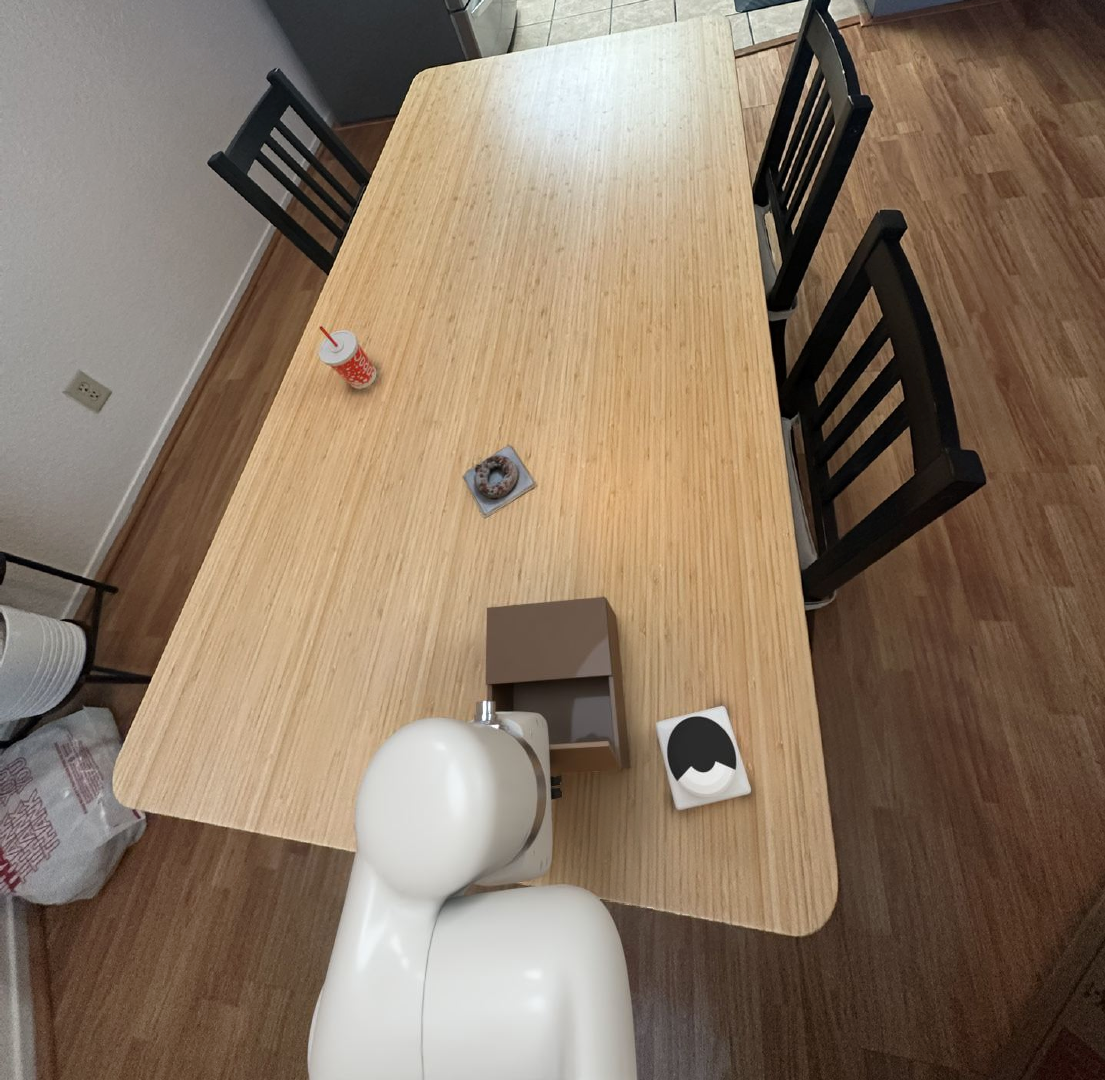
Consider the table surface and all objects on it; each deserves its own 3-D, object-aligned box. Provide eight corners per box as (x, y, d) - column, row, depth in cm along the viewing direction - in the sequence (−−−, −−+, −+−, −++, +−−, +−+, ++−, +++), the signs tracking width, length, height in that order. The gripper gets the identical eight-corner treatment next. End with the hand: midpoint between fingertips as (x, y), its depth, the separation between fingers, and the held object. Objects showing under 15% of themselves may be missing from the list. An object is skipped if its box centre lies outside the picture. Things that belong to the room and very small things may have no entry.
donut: (511, 443, 89) (507, 437, 88) (536, 486, 85) (533, 480, 83) (461, 474, 88) (456, 468, 86) (484, 519, 84) (479, 514, 82)
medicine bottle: (658, 725, 67) (650, 718, 57) (722, 710, 66) (726, 700, 57) (678, 807, 63) (674, 814, 53) (747, 791, 62) (756, 795, 53)
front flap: (619, 765, 57) (620, 770, 57) (484, 772, 59) (484, 777, 59) (608, 740, 52) (609, 746, 52) (461, 749, 54) (461, 754, 54)
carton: (630, 768, 65) (620, 768, 57) (510, 774, 67) (483, 775, 59) (616, 615, 74) (605, 595, 65) (510, 624, 75) (486, 606, 67)
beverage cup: (366, 397, 99) (323, 349, 88) (338, 386, 101) (292, 338, 90) (388, 367, 101) (348, 316, 90) (359, 356, 104) (318, 306, 93)
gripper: (438, 669, 45) (503, 693, 59) (422, 957, 36) (503, 901, 51) (540, 661, 44) (580, 687, 58) (548, 955, 35) (594, 898, 50)
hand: (544, 787), depth 55 cm, fingers closed
